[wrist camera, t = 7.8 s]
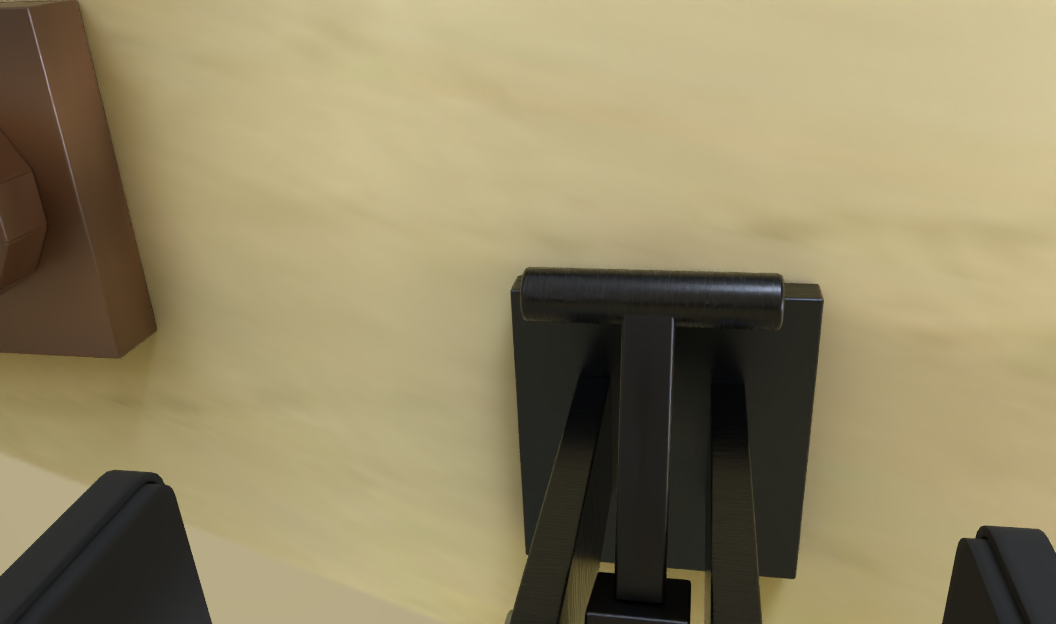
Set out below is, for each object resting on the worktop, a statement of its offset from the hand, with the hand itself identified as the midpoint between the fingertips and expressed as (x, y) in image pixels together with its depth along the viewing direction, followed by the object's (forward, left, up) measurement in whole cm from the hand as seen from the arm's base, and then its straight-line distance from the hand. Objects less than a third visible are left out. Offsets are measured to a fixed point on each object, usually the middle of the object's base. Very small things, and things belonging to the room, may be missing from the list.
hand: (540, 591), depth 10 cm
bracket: (+8, +1, -17) cm, 18 cm away
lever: (+5, +1, -9) cm, 10 cm away
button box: (0, -21, -17) cm, 27 cm away
